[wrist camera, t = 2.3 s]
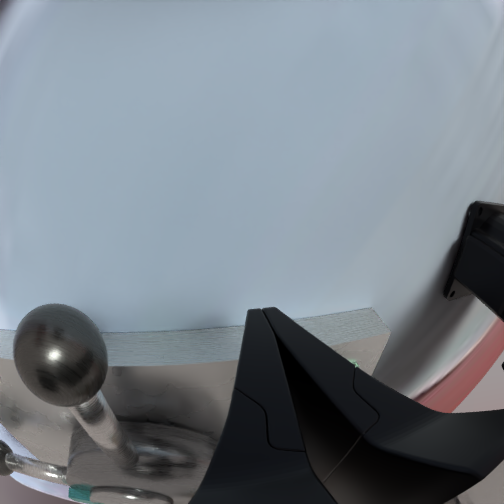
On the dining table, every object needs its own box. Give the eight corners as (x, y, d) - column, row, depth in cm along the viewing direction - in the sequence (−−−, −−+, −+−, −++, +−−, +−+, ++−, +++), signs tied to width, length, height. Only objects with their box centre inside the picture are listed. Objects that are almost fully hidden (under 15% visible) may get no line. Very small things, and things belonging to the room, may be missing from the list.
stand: (371, 307, 14) (395, 337, 12) (309, 451, 22) (317, 471, 20) (-44, 324, 9) (-60, 351, 7) (64, 462, 18) (63, 482, 15)
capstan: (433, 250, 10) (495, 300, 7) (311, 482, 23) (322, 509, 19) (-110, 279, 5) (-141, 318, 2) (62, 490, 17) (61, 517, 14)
